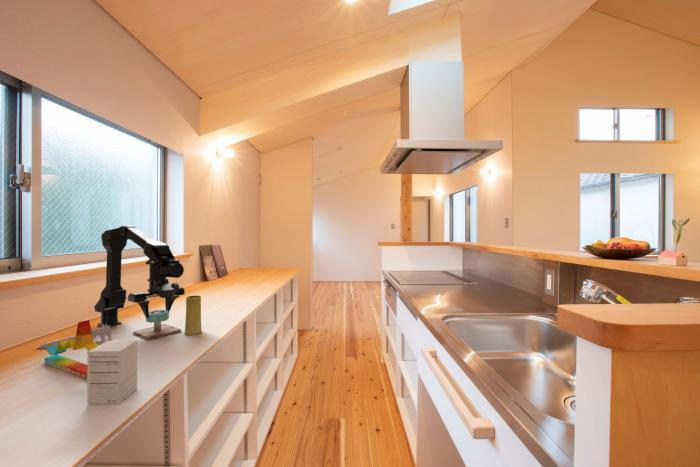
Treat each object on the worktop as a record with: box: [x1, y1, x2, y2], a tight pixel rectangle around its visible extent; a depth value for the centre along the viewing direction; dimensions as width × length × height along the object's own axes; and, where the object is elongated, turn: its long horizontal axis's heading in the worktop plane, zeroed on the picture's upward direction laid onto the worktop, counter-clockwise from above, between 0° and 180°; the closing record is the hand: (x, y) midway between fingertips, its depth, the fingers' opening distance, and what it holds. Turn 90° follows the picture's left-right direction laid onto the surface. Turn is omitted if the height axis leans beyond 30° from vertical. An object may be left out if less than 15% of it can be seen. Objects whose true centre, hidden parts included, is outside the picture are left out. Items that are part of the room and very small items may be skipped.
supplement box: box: [86, 339, 138, 406], centre depth 77 cm, size 7×7×13 cm
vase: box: [184, 294, 203, 336], centre depth 125 cm, size 6×6×14 cm
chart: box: [44, 319, 99, 380], centre depth 90 cm, size 30×3×15 cm, turn 65°
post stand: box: [132, 312, 182, 341], centre depth 124 cm, size 12×12×8 cm
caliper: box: [34, 323, 112, 350], centre depth 112 cm, size 20×1×6 cm, turn 120°
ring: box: [145, 309, 170, 323], centre depth 124 cm, size 7×7×3 cm
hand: (157, 315), depth 124 cm, fingers closed on ring, 7 cm apart
